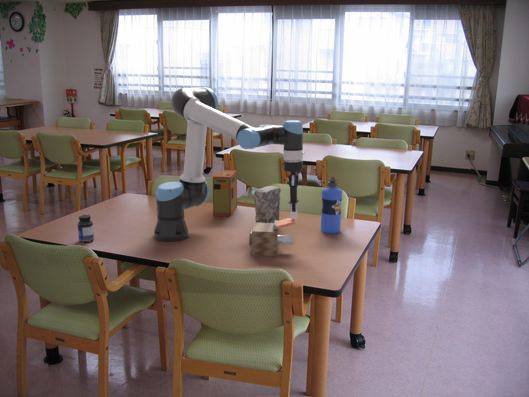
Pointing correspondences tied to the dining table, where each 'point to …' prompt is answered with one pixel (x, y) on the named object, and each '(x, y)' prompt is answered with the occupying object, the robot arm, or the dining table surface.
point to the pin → (280, 239)
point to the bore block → (264, 239)
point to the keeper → (283, 223)
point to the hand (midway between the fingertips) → (293, 218)
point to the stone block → (267, 204)
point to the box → (224, 192)
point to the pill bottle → (85, 228)
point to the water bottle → (331, 208)
